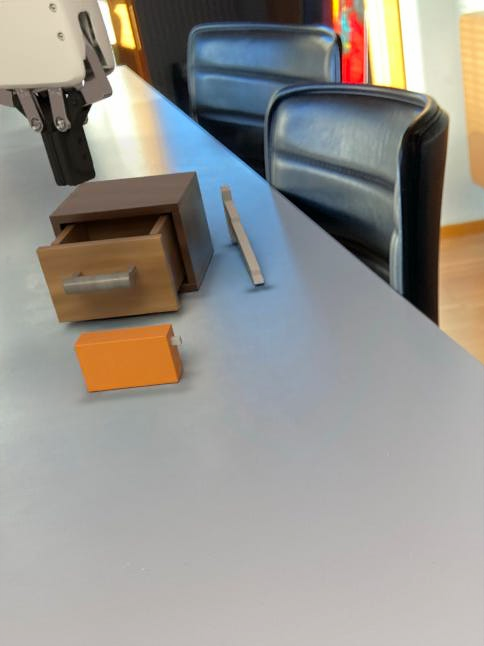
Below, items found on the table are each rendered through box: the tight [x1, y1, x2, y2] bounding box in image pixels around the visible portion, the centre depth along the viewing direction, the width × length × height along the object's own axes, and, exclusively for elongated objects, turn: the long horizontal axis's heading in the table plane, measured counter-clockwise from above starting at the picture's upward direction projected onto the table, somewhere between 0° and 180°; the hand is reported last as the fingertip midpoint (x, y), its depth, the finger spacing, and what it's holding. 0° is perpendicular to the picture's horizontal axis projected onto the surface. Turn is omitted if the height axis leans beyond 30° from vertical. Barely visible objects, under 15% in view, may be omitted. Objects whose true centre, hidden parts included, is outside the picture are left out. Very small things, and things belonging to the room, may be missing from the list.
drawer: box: [35, 212, 186, 323], centre depth 99 cm, size 18×11×7 cm, turn 6°
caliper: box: [219, 184, 265, 285], centre depth 111 cm, size 20×1×6 cm, turn 19°
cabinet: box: [48, 170, 215, 294], centre depth 108 cm, size 15×13×9 cm
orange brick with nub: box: [73, 323, 184, 393], centre depth 85 cm, size 8×3×4 cm, turn 96°
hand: (77, 181), depth 84 cm, fingers closed
